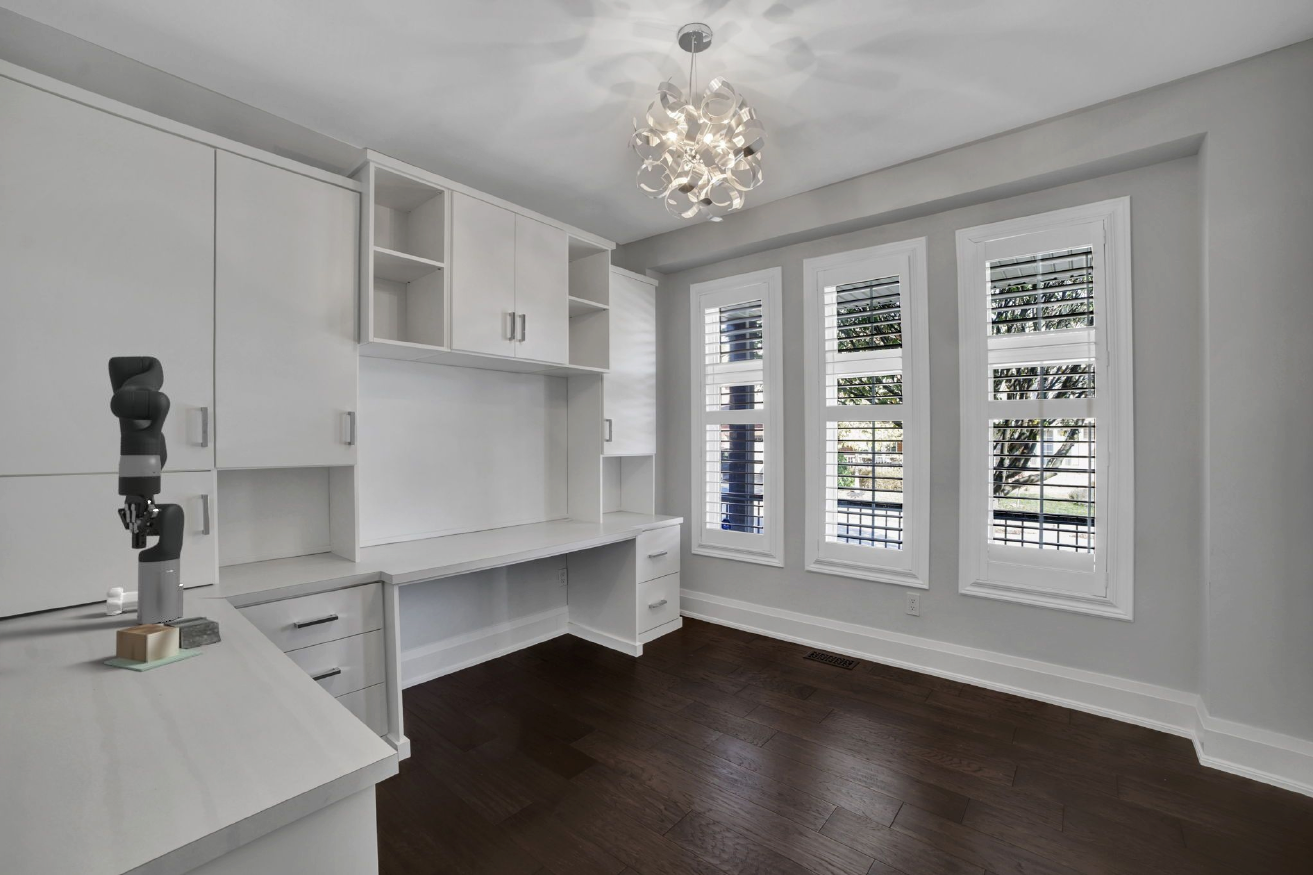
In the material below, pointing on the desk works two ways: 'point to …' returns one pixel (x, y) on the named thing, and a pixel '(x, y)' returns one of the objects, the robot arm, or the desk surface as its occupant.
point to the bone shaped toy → (120, 600)
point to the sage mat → (145, 666)
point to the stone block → (195, 631)
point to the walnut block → (147, 642)
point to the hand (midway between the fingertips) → (139, 548)
